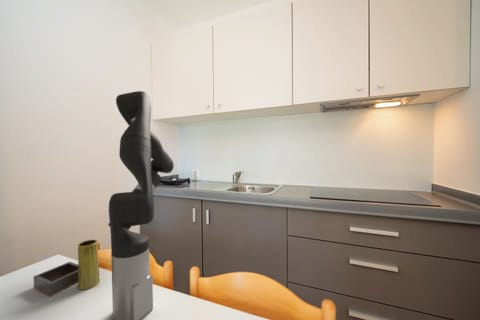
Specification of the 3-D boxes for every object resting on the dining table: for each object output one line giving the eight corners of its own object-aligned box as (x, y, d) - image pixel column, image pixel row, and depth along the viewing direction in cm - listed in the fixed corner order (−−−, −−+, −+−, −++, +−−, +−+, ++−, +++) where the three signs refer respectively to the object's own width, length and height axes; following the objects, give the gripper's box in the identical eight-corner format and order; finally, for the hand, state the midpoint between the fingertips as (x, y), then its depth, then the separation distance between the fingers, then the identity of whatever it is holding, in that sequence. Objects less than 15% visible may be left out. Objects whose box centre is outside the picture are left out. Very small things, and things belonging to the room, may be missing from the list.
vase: (80, 292, 65) (79, 248, 65) (74, 285, 69) (73, 243, 69) (102, 283, 70) (101, 241, 70) (96, 277, 74) (95, 237, 73)
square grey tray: (86, 278, 73) (86, 267, 73) (50, 296, 63) (49, 284, 63) (70, 272, 77) (69, 261, 77) (33, 288, 68) (33, 276, 68)
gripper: (125, 187, 89) (98, 221, 79) (149, 188, 83) (123, 225, 73) (136, 196, 94) (112, 230, 84) (159, 199, 88) (136, 235, 78)
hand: (117, 228), depth 79 cm, fingers open, 8 cm apart
